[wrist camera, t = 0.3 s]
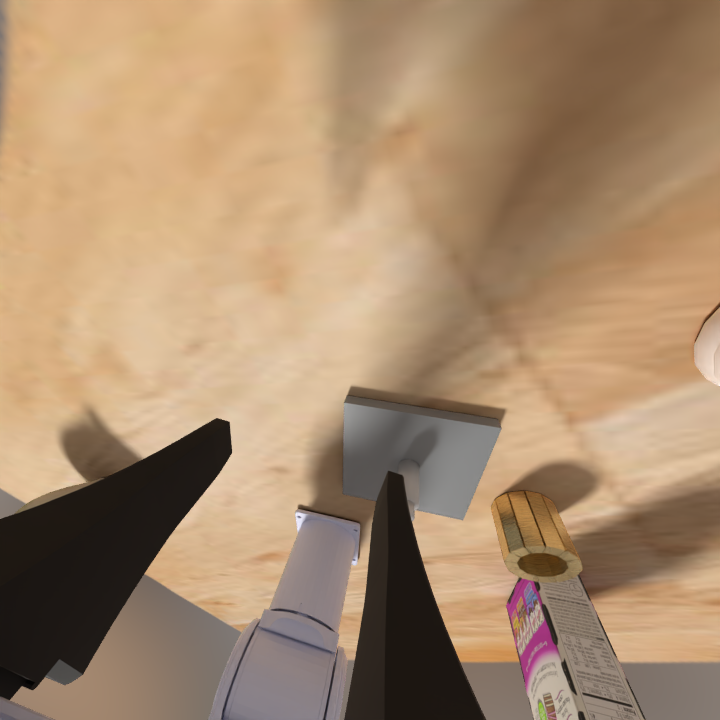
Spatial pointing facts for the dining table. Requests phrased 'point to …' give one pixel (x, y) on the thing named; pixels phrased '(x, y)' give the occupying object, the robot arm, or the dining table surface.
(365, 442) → the stand
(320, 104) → the dining table surface
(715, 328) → the bottle
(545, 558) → the collar
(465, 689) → the robot arm
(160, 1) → the dining table surface
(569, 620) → the candy bar box
